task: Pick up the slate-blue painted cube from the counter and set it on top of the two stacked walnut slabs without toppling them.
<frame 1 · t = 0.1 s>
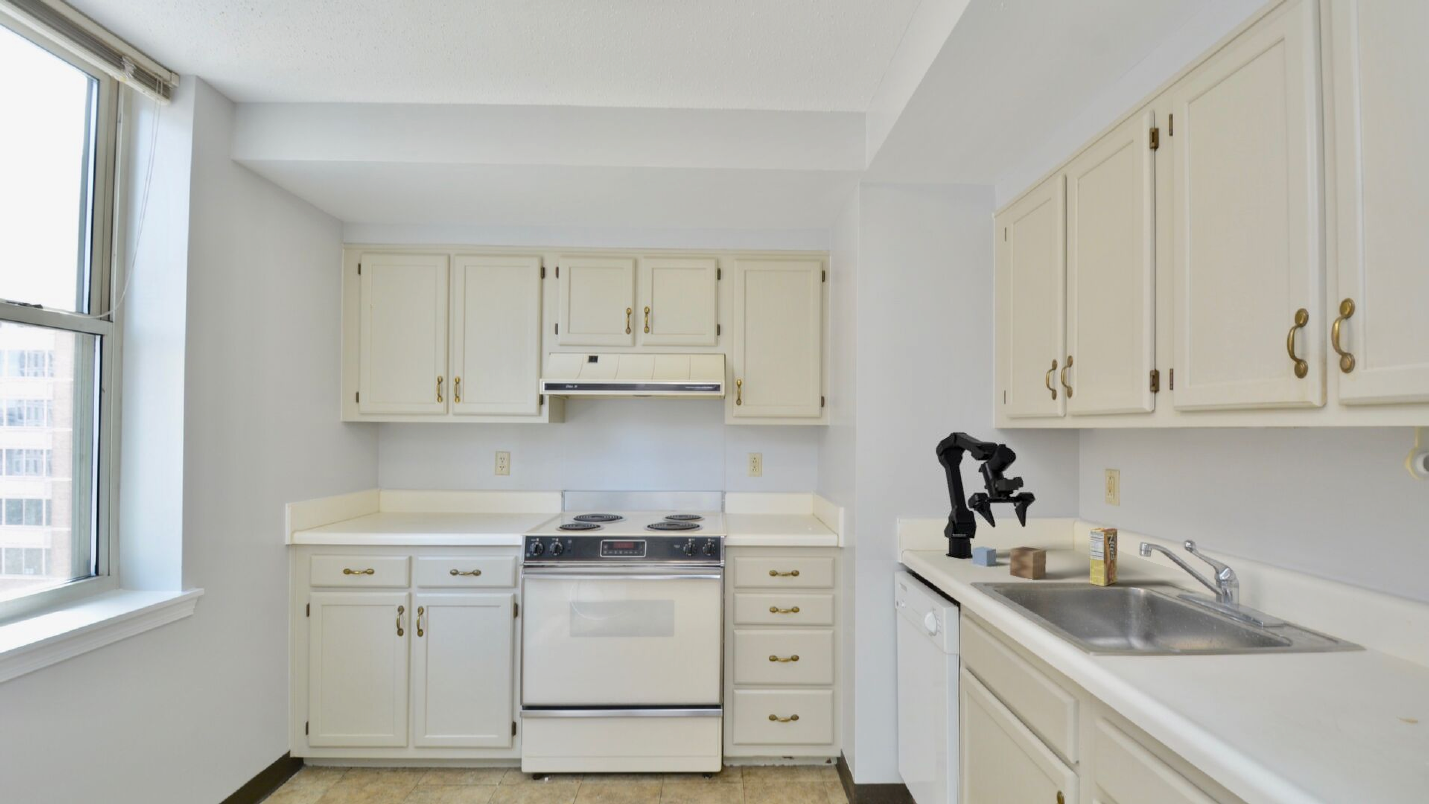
hand: (1009, 526, 202), 15 cm above the worktop, tool tilted 35°, fingers open, 9 cm apart
blue block: (984, 564, 220), on the worktop
candy box: (1103, 583, 196), on the worktop
tower base: (1027, 576, 204), on the worktop, touching tower top
tower top: (1028, 563, 204), point 4 cm above the worktop, touching tower base
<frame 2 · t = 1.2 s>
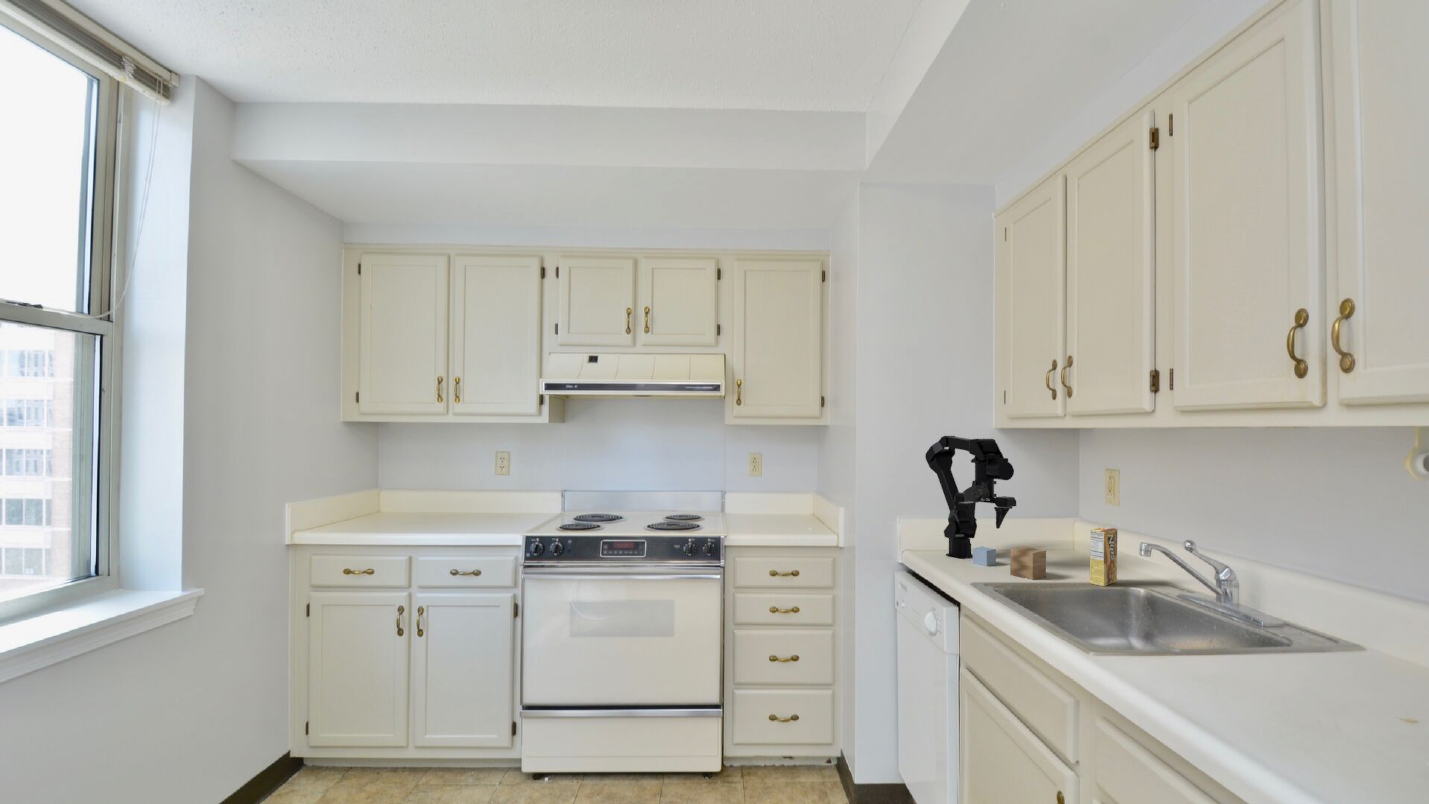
hand: (984, 526, 220), 12 cm above the worktop, tool pointing down, fingers open, 9 cm apart
nothing on the worktop moved.
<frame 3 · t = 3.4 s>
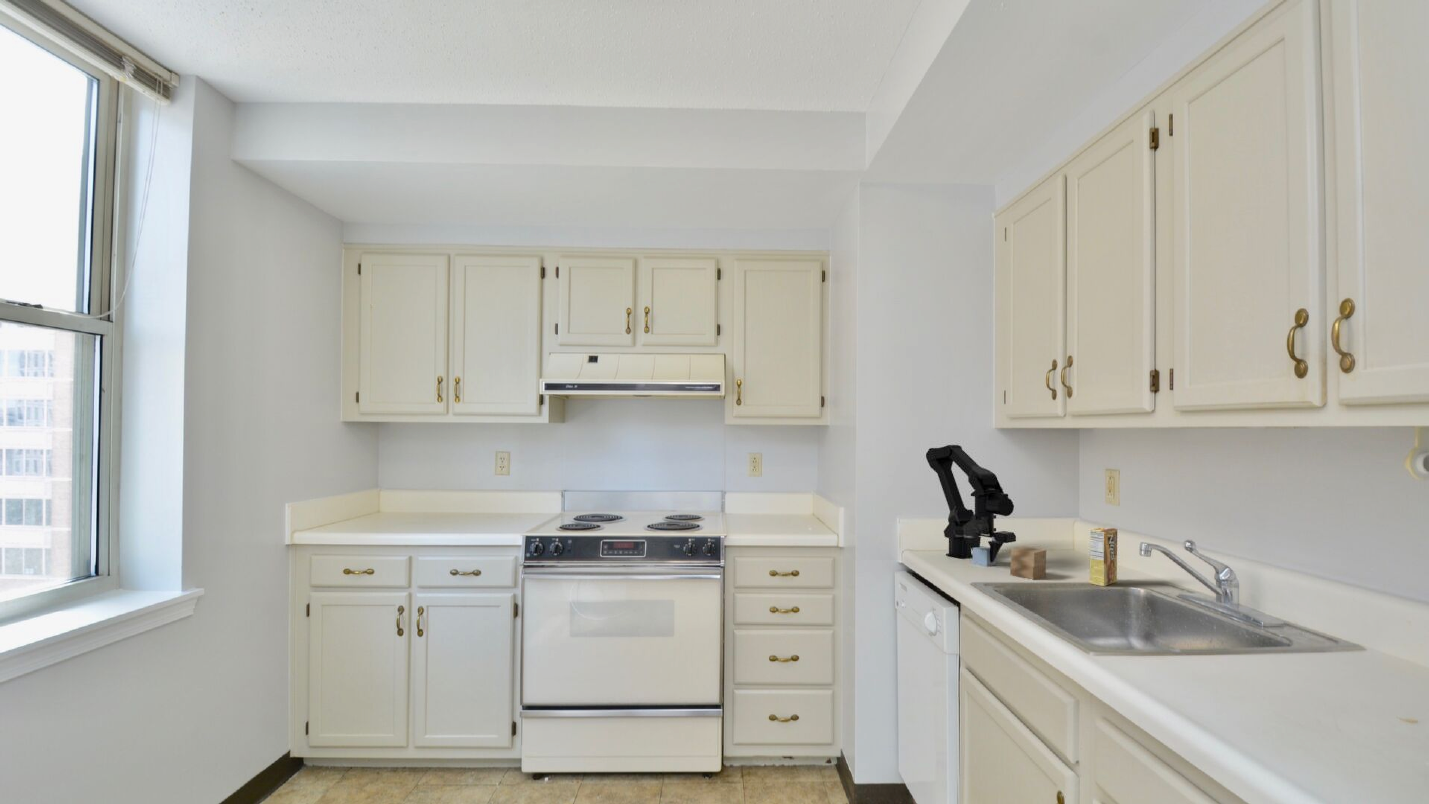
hand: (984, 560, 220), 1 cm above the worktop, tool pointing down, fingers closed on blue block, 5 cm apart
blue block: (984, 564, 220), on the worktop, touching gripper
tower base: (1028, 576, 204), on the worktop
tower top: (1028, 563, 204), point 4 cm above the worktop
everything else where it was.
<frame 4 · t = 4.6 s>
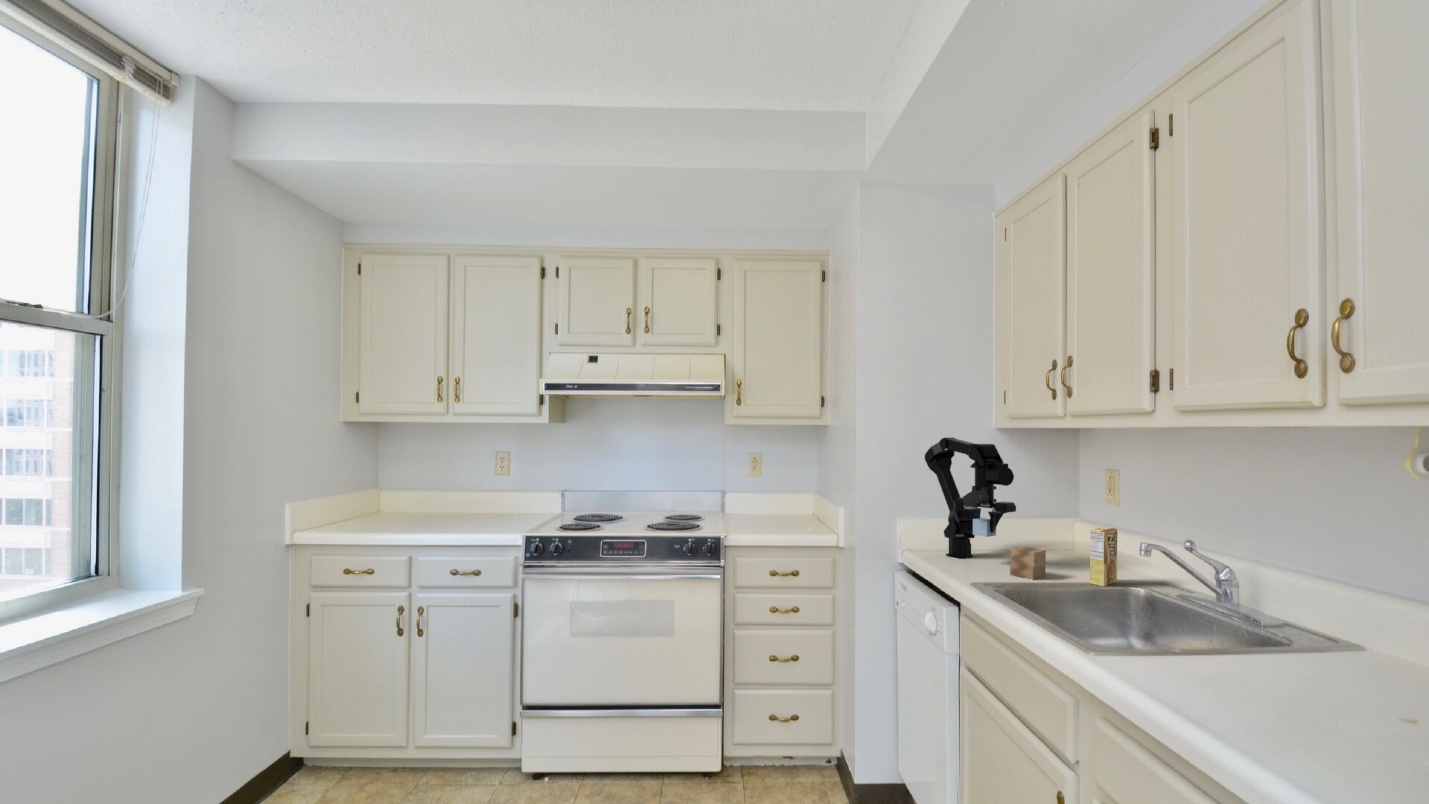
hand: (984, 531, 221), 10 cm above the worktop, tool pointing down, fingers closed on blue block, 5 cm apart
blue block: (984, 535, 220), point 9 cm above the worktop, touching gripper
tower base: (1027, 576, 204), on the worktop, touching tower top
tower top: (1028, 563, 204), point 4 cm above the worktop, touching tower base
everything else where it was.
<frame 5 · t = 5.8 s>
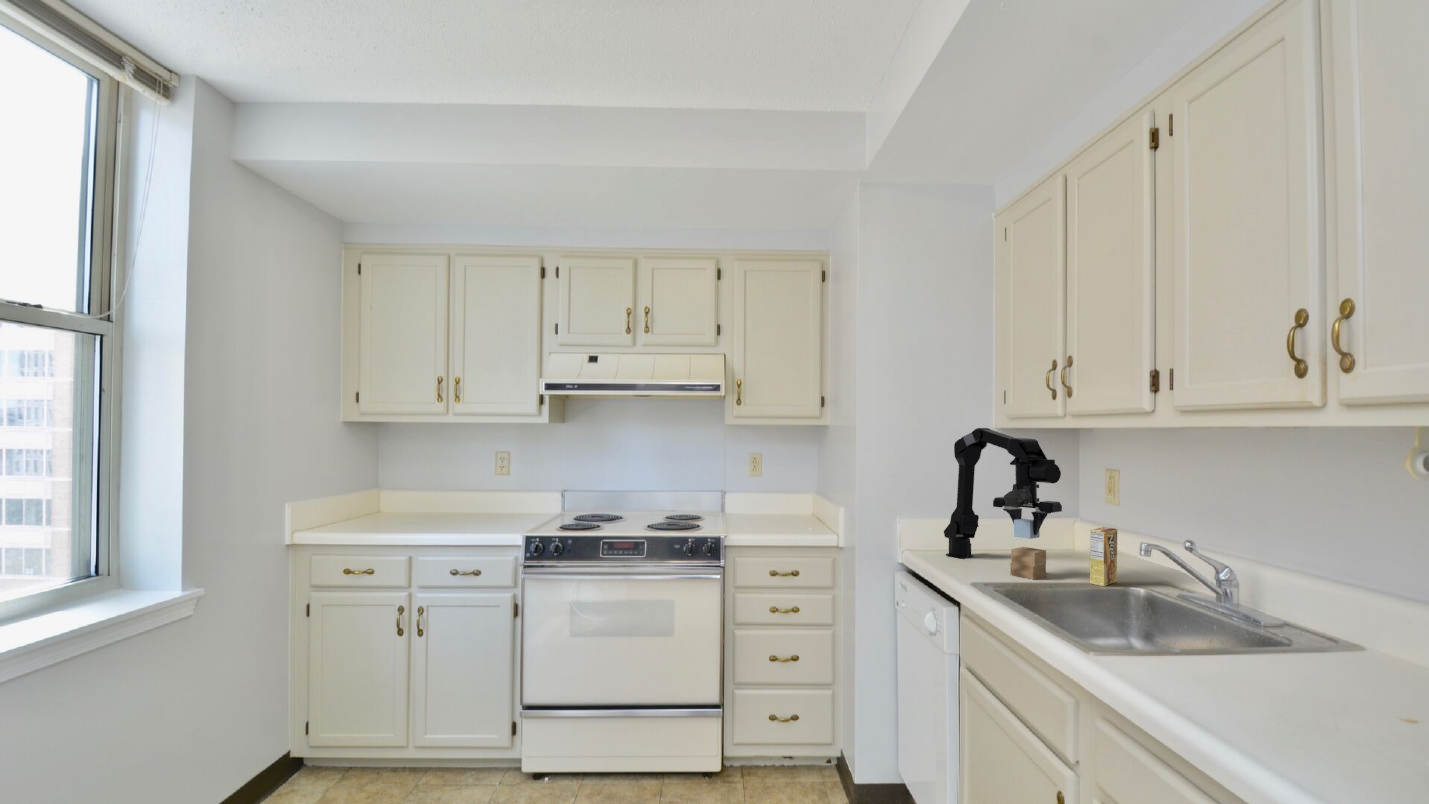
hand: (1026, 533, 205), 12 cm above the worktop, tool pointing down, fingers closed on blue block, 5 cm apart
blue block: (1026, 536, 205), point 11 cm above the worktop, touching gripper
everything else where it was.
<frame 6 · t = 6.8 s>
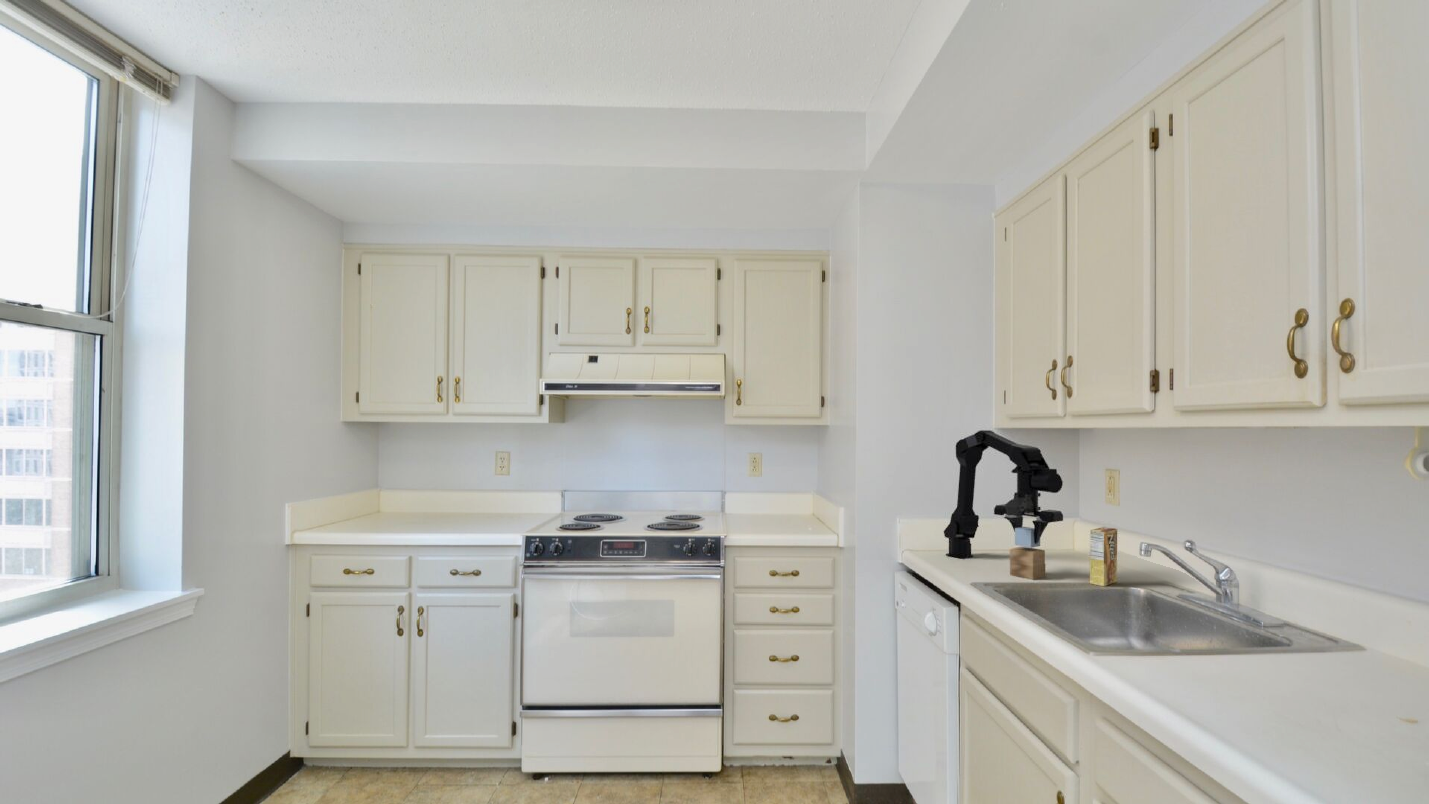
hand: (1027, 542, 204), 10 cm above the worktop, tool pointing down, fingers closed on blue block, 5 cm apart
blue block: (1027, 545, 204), point 9 cm above the worktop, touching gripper
tower base: (1027, 576, 204), on the worktop
tower top: (1027, 563, 204), point 4 cm above the worktop
everything else where it was.
when the fingers open (10 cm above the worktop, at t = 7.0 s): blue block drops 1 cm, resting on tower top.
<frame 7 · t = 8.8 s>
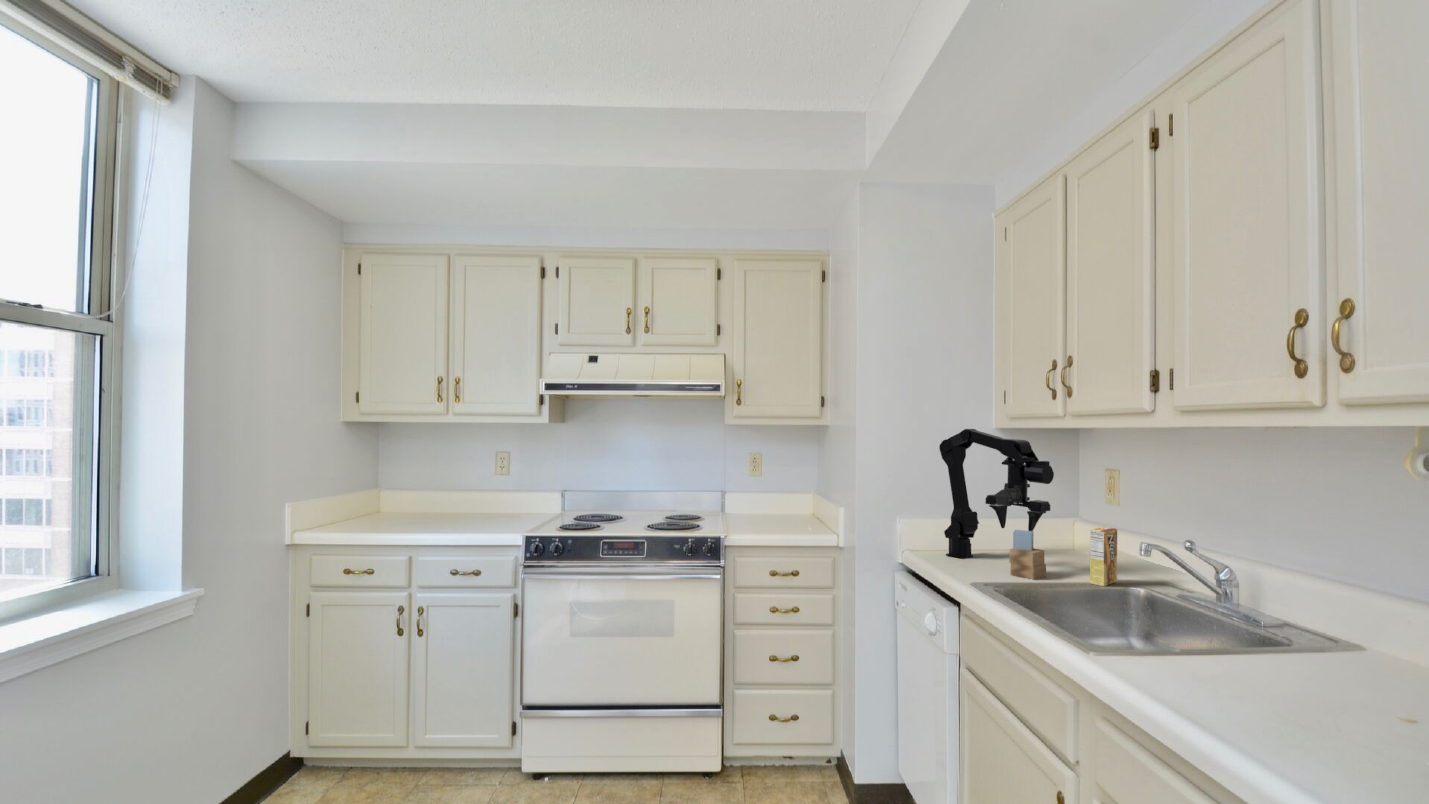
hand: (1016, 530, 214), 12 cm above the worktop, tool pointing down, fingers open, 9 cm apart
blue block: (1023, 548, 206), point 8 cm above the worktop, touching tower top
tower base: (1028, 576, 204), on the worktop, touching tower top
tower top: (1026, 563, 204), point 4 cm above the worktop, touching blue block, tower base
everything else where it was.
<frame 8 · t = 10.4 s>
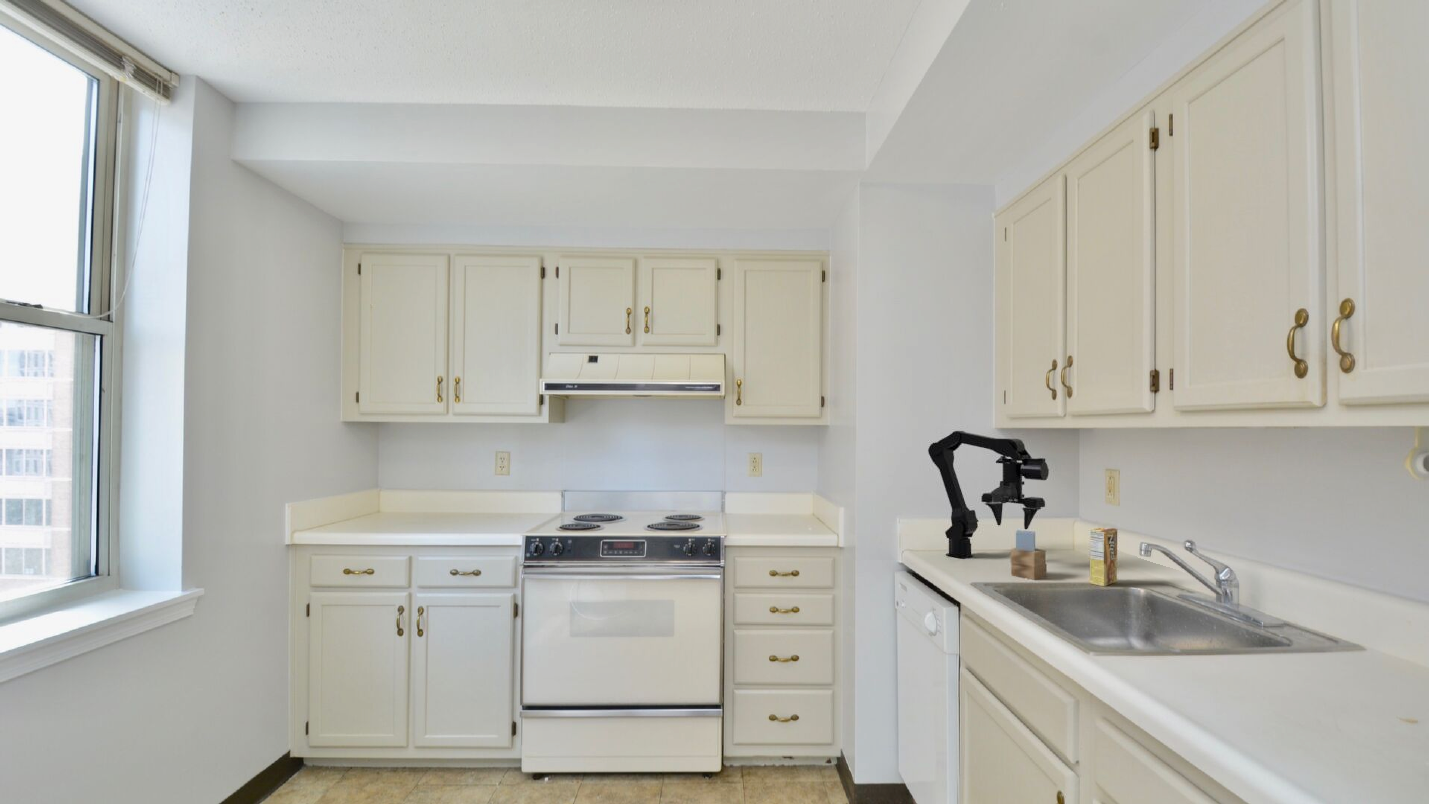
hand: (1012, 527, 219), 12 cm above the worktop, tool pointing down, fingers open, 9 cm apart
blue block: (1025, 548, 205), point 8 cm above the worktop, touching tower top
everything else where it was.
at the end: blue block inside the target area on the tower base (1.1 cm from its centre), point 8.0 cm above the tower base's base; tower top 0.2 cm off-centre on the tower base, point 4.0 cm above the tower base's base; the gripper is holding nothing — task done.
